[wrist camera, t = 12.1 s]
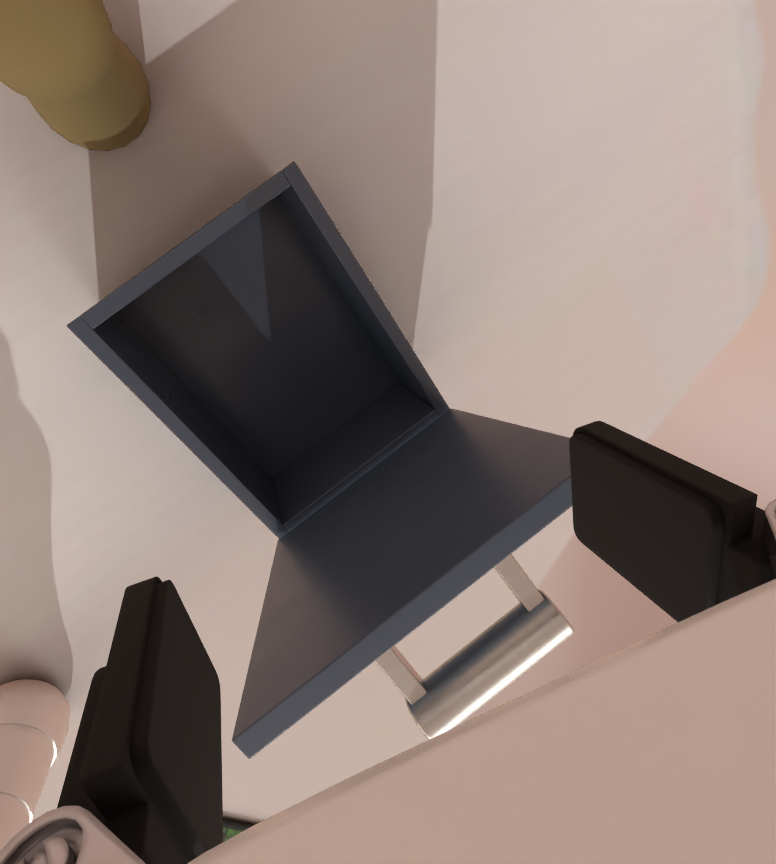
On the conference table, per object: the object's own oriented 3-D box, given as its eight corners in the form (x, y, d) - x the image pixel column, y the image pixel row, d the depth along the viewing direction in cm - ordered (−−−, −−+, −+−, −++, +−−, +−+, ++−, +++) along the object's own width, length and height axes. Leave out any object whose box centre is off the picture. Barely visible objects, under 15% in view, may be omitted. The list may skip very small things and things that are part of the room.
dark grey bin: (98, 306, 31) (66, 325, 24) (276, 177, 32) (294, 160, 25) (268, 486, 39) (281, 541, 32) (409, 380, 39) (451, 410, 32)
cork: (102, 175, 29) (46, 142, 19) (-5, 77, 26) (-136, -20, 16) (174, 96, 28) (153, 22, 19) (74, -11, 26) (-11, -164, 16)
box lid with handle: (230, 741, 14) (351, 868, 15) (607, 446, 15) (700, 587, 16) (277, 540, 31) (332, 605, 32) (450, 407, 32) (499, 476, 33)
